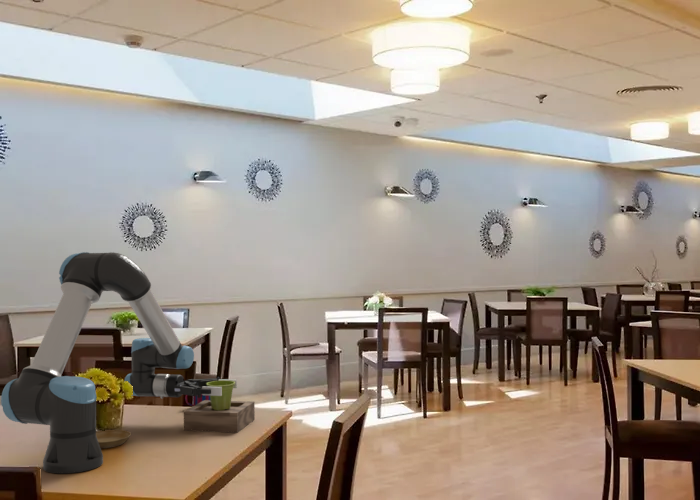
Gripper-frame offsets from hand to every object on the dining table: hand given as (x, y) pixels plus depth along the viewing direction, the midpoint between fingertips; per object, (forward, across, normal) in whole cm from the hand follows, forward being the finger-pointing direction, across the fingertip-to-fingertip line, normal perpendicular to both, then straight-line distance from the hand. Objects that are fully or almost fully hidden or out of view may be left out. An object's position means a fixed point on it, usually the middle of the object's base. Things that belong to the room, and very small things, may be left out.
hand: (229, 387), depth 244 cm
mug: (-22, -24, -13) cm, 35 cm away
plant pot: (-4, -2, -8) cm, 9 cm away
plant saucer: (-29, +28, -13) cm, 42 cm away
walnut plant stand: (-3, 0, -12) cm, 13 cm away
